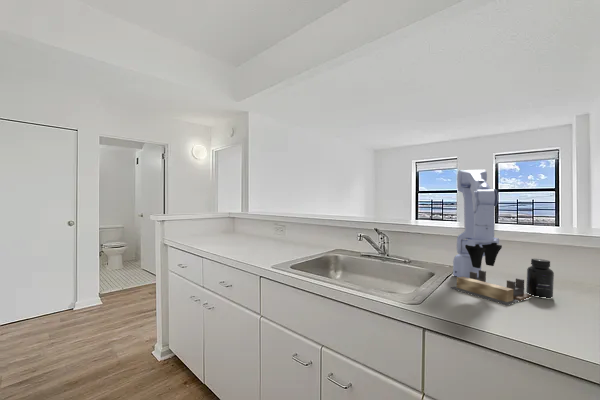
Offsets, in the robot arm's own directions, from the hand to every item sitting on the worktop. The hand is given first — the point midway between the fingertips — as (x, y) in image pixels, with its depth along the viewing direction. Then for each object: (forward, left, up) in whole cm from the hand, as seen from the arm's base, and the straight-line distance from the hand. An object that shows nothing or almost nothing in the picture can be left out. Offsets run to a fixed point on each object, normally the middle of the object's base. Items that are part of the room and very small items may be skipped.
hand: (483, 266), depth 94 cm
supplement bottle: (+9, +16, -10) cm, 21 cm away
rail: (0, 0, -9) cm, 9 cm away
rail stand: (0, +7, -9) cm, 12 cm away
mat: (0, 0, -9) cm, 9 cm away
